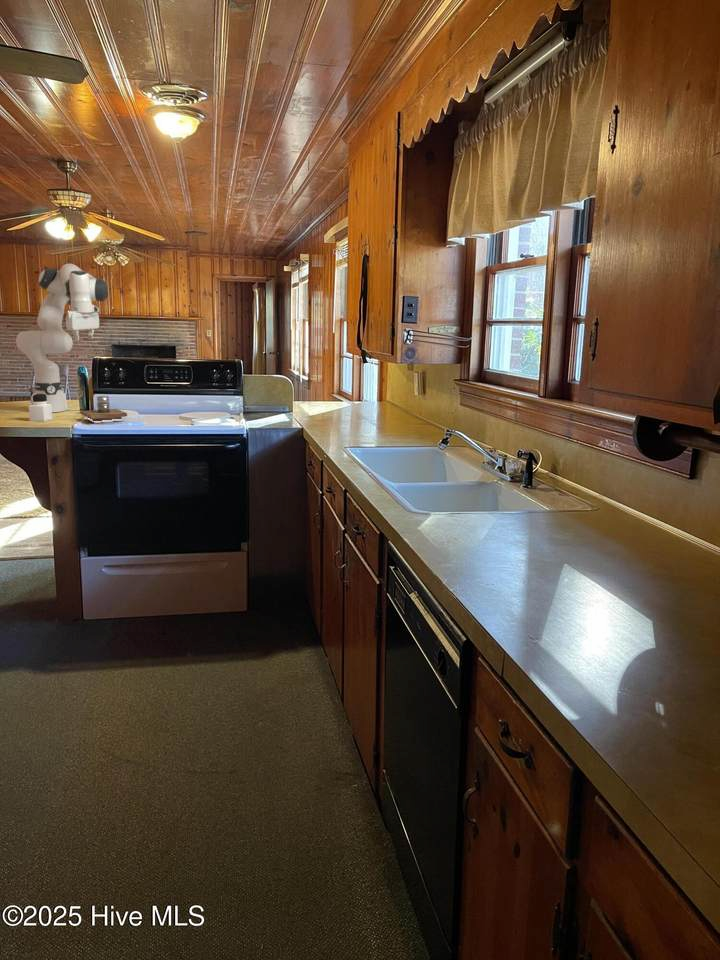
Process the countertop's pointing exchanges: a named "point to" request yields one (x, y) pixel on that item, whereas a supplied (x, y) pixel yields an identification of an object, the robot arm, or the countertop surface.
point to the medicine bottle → (40, 408)
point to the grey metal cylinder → (103, 404)
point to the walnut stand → (104, 415)
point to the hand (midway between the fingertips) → (84, 339)
